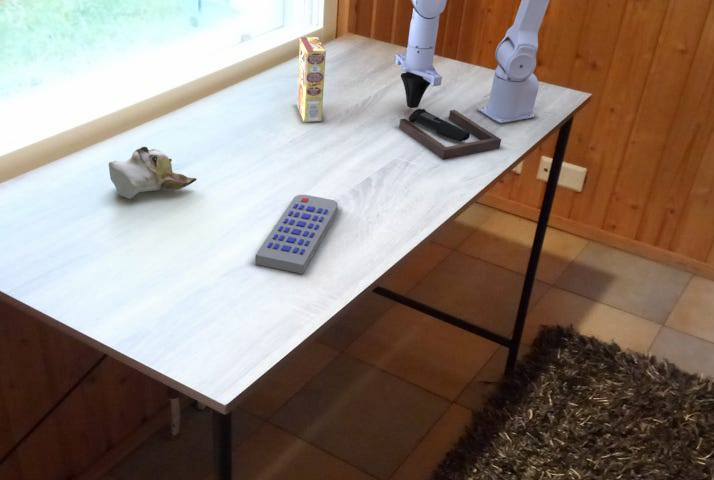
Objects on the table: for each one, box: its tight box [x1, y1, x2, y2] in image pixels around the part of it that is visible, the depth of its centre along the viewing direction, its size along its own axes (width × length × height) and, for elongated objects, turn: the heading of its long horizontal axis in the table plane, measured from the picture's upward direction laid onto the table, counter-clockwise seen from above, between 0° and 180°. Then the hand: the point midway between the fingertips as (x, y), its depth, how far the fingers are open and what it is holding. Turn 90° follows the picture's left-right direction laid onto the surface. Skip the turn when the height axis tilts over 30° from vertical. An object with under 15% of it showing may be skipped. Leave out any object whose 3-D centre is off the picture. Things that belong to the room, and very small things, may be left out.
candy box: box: [297, 36, 327, 123], centre depth 173 cm, size 9×4×15 cm, turn 8°
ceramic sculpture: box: [108, 146, 197, 200], centre depth 146 cm, size 11×9×15 cm
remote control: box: [254, 194, 339, 275], centre depth 137 cm, size 8×23×2 cm, turn 160°
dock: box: [398, 109, 502, 160], centre depth 169 cm, size 14×16×2 cm
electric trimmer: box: [407, 108, 471, 143], centre depth 171 cm, size 4×16×3 cm, turn 35°
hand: (412, 106), depth 178 cm, fingers closed
